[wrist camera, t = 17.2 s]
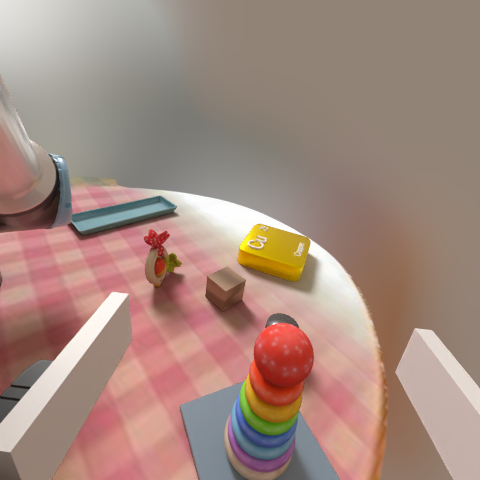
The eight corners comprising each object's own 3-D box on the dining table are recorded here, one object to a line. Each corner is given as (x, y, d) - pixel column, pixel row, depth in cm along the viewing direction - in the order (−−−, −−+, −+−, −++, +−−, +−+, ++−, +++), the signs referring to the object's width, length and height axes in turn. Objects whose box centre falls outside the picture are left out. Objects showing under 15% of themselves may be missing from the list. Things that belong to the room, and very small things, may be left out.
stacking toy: (253, 393, 37) (284, 287, 27) (303, 444, 33) (360, 339, 23) (208, 439, 32) (226, 327, 22) (260, 506, 27) (311, 404, 18)
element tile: (298, 285, 60) (303, 267, 58) (234, 264, 64) (237, 246, 61) (307, 251, 73) (312, 236, 70) (253, 235, 76) (256, 220, 74)
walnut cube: (222, 311, 50) (225, 291, 48) (205, 296, 53) (207, 276, 50) (242, 300, 54) (245, 280, 51) (224, 286, 56) (227, 266, 54)
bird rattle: (173, 296, 55) (185, 257, 60) (164, 268, 46) (179, 226, 51) (142, 291, 55) (156, 253, 60) (127, 262, 46) (146, 221, 51)
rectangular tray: (80, 239, 64) (79, 230, 63) (67, 222, 69) (65, 213, 68) (177, 214, 81) (177, 206, 80) (160, 202, 86) (160, 195, 85)
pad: (221, 562, 25) (222, 559, 24) (180, 409, 35) (180, 405, 35) (338, 484, 31) (340, 481, 30) (273, 373, 41) (274, 369, 41)
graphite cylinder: (270, 364, 42) (277, 342, 40) (256, 338, 46) (261, 317, 44) (297, 354, 45) (305, 334, 42) (281, 331, 48) (287, 310, 46)
